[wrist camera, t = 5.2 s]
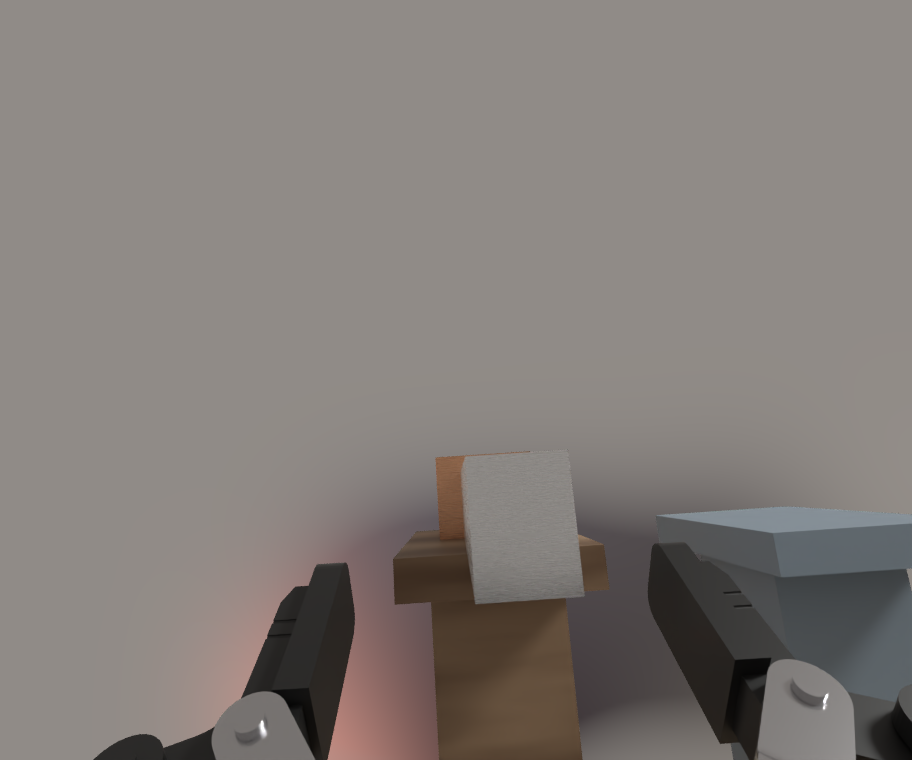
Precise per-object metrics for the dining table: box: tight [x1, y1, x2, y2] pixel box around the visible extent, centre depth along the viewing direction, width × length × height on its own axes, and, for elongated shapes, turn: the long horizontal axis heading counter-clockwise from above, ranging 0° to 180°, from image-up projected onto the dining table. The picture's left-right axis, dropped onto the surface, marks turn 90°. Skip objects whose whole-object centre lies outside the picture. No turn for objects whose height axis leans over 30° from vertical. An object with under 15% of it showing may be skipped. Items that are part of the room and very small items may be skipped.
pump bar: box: [436, 450, 585, 604], centre depth 25 cm, size 23×6×5 cm, turn 0°
